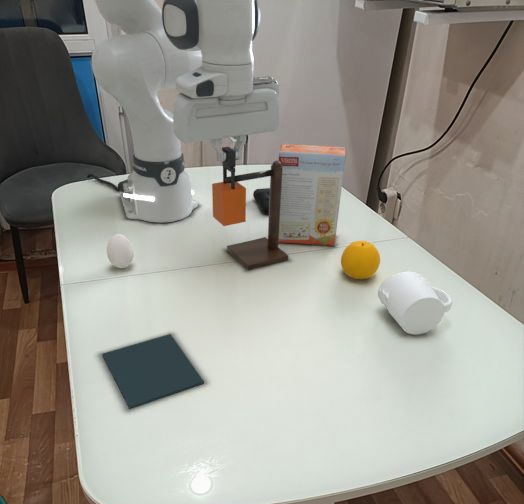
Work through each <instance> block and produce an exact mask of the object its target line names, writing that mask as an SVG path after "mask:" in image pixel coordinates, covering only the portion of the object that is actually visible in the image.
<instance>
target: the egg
mask: <svg viewBox="0 0 524 504" xmlns="http://www.w3.org/2000/svg"><path fill="white" fill-rule="evenodd" d="M106 255H107V259H108V261H109V262H110V264H111V265H112V266H114V267H115V268H118V269H125V268H128V267H130V265H131V264H132V262H133V260H134V255H135V254H134V249H133V245H132V243H131V241H130V240H129V239H128V238H127V237H126V236H125V235H123V234H120V233H115V234H114V235H112V236H111V237H110V238H109V240H108V242H107V245H106Z"/></svg>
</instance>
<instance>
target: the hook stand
mask: <svg viewBox="0 0 524 504" xmlns="http://www.w3.org/2000/svg"><path fill="white" fill-rule="evenodd" d="M282 171H283V166H282V164H281V162H279V160H274V161H273V162H272V164H271V165H270V169H267V170H262V171H261V170H260V171H255V172H248V173H242V174H237V175H236V174H235V182H238V183H240V182H245V181H251V180H255V179H256V180H257V179H262V178H268V177H270V178H269V188H270V198H269V214H268V222H267V223H268V225H267V237H266V236H263V237H260V238H255V239H250V240H246V241H243V242H237V243H233V244H229V245H226V251H227V252H228V253H229V254H230V255H231V256H232V257H233V258H234V259H235V260H236V261H237V262H238V263H240V265H241V266H242V267H244V268H245V269H246V270H247V271H251V270H256V269H259V268H264V267H267V266H271V265H276V264H279V263H283V262H287V261H289V254H287V253H286V252H284V251H283V250H282V249H281V248H279V242H278V241H279V223H280V206H281V188H282ZM225 182H226V183H231V175H230V176H227V177H226V178H225Z"/></svg>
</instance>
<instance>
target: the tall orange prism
mask: <svg viewBox="0 0 524 504" xmlns="http://www.w3.org/2000/svg"><path fill="white" fill-rule="evenodd" d="M221 149H222V150H224V151H225V152H227V162H222V163H221V164H222V181H219V182H214V183H211V195H212V217H213V218H214V219H215V220H216V221H217V222H218V223H219V224H221V226H222V227H227V226H232V225H237V224H243V223H246V221H247V220H246V219H247V218H246V216H247V188H246V187H245V186H244V185H243V184H241V183H240V182H235V176H236V163H237V160H236V151H235V150H233V148H231V147H230V146H223V147H221ZM228 172H230V176H231V183H226V182H225V178H226V177H228Z"/></svg>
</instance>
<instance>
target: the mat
mask: <svg viewBox="0 0 524 504" xmlns="http://www.w3.org/2000/svg"><path fill="white" fill-rule="evenodd" d="M101 355H102V358H103V360H104V362H105V363H106V365H107V367H108V370H109V371H110V374H111V376H112V377H113V380H114V381H115V383H116V386H117V387H118V389H119V391H120V393H121V395H122V397H123V399H124V401H125V403H126V405H127V406H128V408H129V409H133V408H135V407H139V406H141V405H145V404H148V403H151V402H153V401H157V400H159V399H162V398H165V397H168V396H171V395H174V394H177V393H180V392H183V391H186V390H188V389H191V388H195V387H197V386H200V385H203V384H205V381H204V379H203V378H202V376H201V375H200V373H199V372H198V371H197V370H196V368H195V366H194V365H193V364H192V362H191V361H190V359H189V358H188V357H187V355H186V354H185V352H184V351H183V349H182V348H181V347H180V345H179V344H178V342H177V341H176V340H175V338H174V337H173V335H172V334H171V333H169V334H166V335H162V336H159V337H156V338H152V339H148V340H144V341H141V342H138V343H134V344H131V345H129V346H128V345H127V346H124V347H121V348H117V349H114V350H111V351H107V352H103V353H101Z"/></svg>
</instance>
